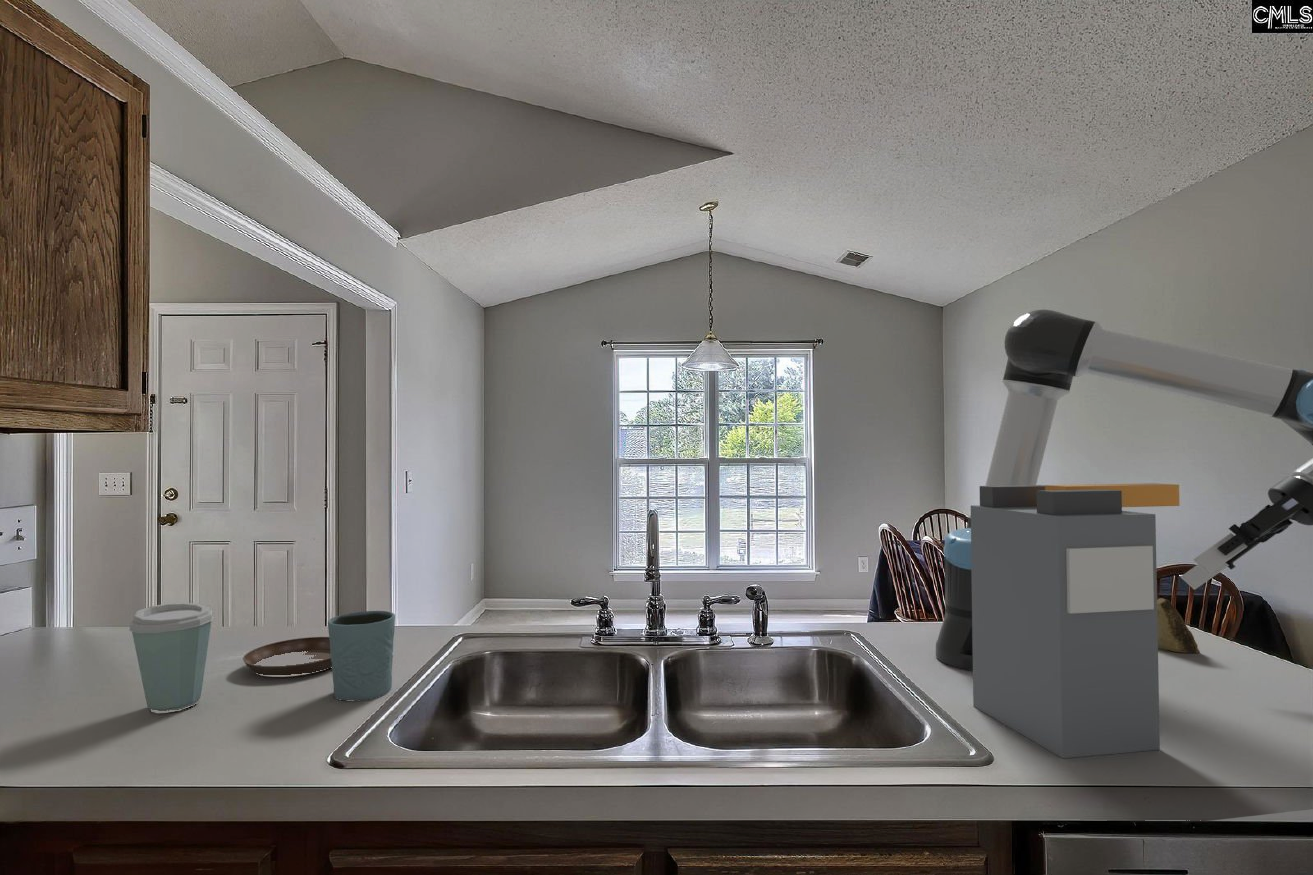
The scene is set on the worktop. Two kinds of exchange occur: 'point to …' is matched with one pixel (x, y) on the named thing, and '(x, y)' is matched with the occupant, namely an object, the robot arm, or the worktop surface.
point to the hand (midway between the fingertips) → (1194, 575)
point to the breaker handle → (1134, 493)
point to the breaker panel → (1066, 618)
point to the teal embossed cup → (362, 654)
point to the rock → (1173, 629)
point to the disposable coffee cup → (172, 653)
